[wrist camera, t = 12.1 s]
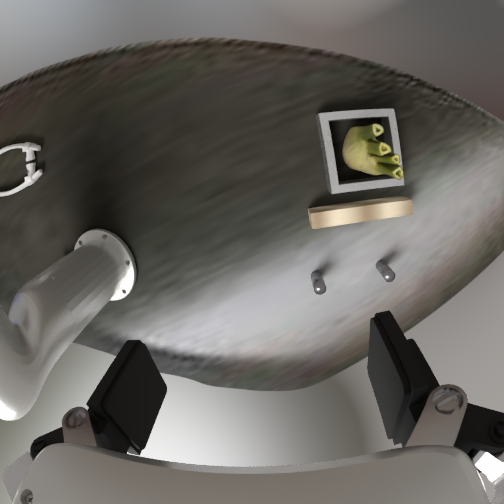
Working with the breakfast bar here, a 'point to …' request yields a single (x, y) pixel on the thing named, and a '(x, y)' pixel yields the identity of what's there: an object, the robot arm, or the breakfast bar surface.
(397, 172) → the fennel bulb
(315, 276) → the pegs
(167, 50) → the breakfast bar surface
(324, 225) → the door edge rail
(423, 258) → the breakfast bar surface
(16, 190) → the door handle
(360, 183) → the frame
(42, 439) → the robot arm
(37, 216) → the breakfast bar surface
